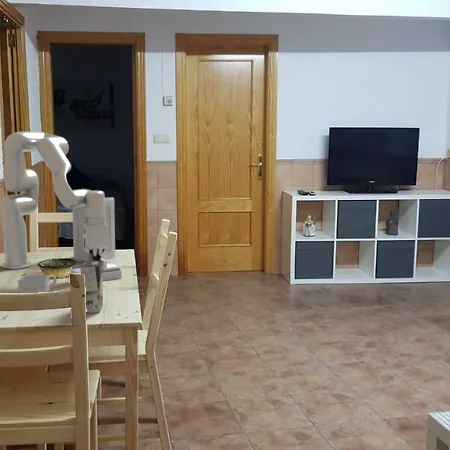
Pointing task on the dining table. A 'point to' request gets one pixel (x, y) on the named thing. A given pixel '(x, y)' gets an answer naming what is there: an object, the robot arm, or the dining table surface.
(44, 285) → the teacup
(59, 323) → the dining table surface
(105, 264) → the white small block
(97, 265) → the coffee box
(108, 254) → the tall white carton
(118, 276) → the socket
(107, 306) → the dining table surface
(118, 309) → the dining table surface
